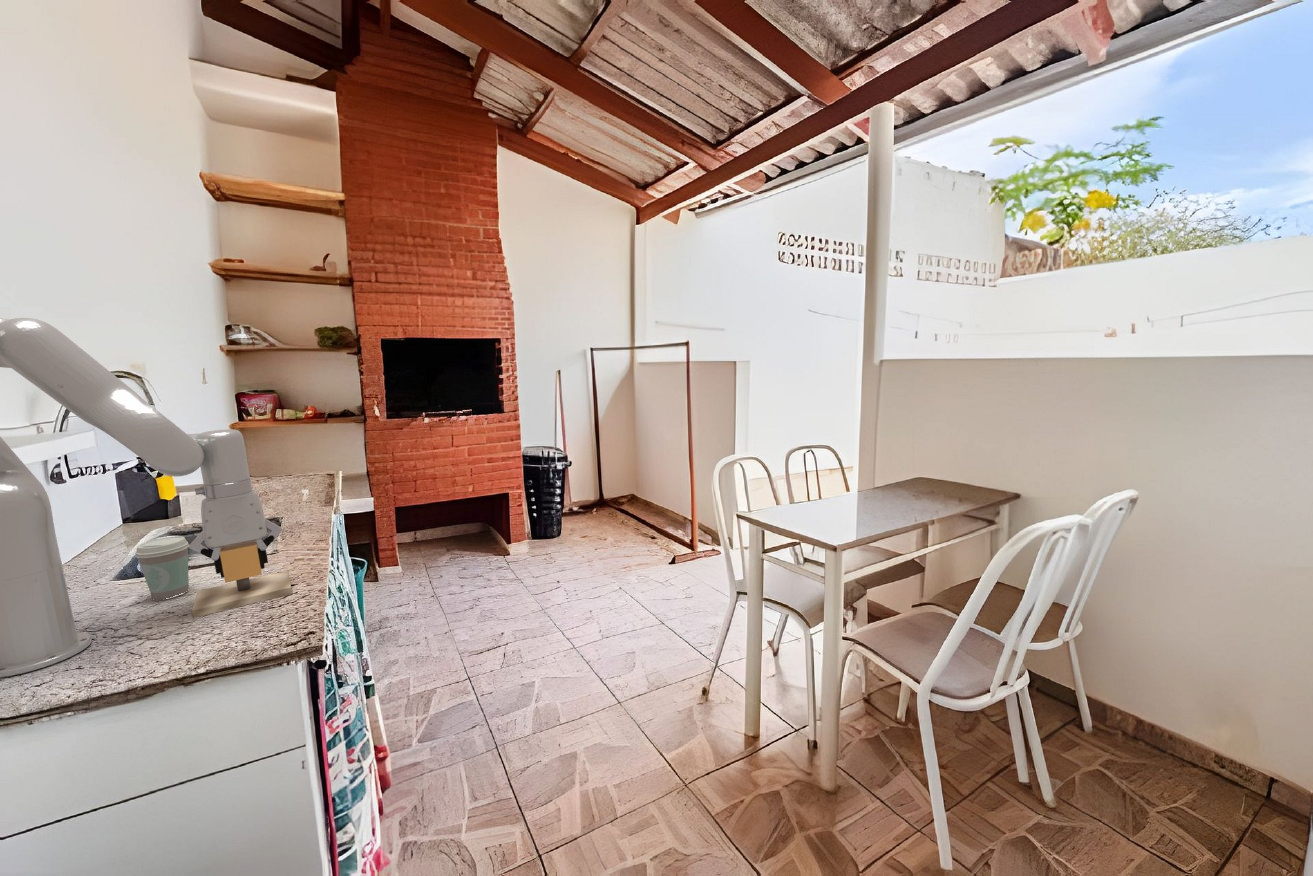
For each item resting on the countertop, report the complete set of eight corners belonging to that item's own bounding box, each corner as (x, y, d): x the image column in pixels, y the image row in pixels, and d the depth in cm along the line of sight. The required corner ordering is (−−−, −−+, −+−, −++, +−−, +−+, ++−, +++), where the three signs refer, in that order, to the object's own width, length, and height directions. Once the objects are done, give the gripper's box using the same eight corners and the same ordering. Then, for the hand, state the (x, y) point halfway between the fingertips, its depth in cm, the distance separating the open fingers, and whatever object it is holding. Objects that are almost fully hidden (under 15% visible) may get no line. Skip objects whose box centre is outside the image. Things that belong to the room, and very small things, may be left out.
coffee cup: (136, 599, 112) (126, 545, 110) (186, 583, 119) (177, 533, 118) (154, 606, 108) (143, 551, 106) (204, 590, 115) (195, 538, 114)
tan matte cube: (225, 582, 107) (219, 552, 106) (226, 573, 112) (221, 544, 111) (261, 574, 111) (256, 545, 110) (261, 566, 115) (256, 538, 114)
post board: (193, 617, 102) (188, 589, 101) (198, 597, 112) (194, 570, 111) (291, 594, 112) (288, 567, 111) (289, 576, 121) (285, 552, 120)
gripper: (170, 501, 100) (188, 589, 103) (280, 484, 111) (293, 565, 113) (175, 494, 106) (191, 577, 109) (279, 479, 116) (291, 555, 119)
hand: (243, 570), depth 111 cm, fingers closed on tan matte cube, 5 cm apart
